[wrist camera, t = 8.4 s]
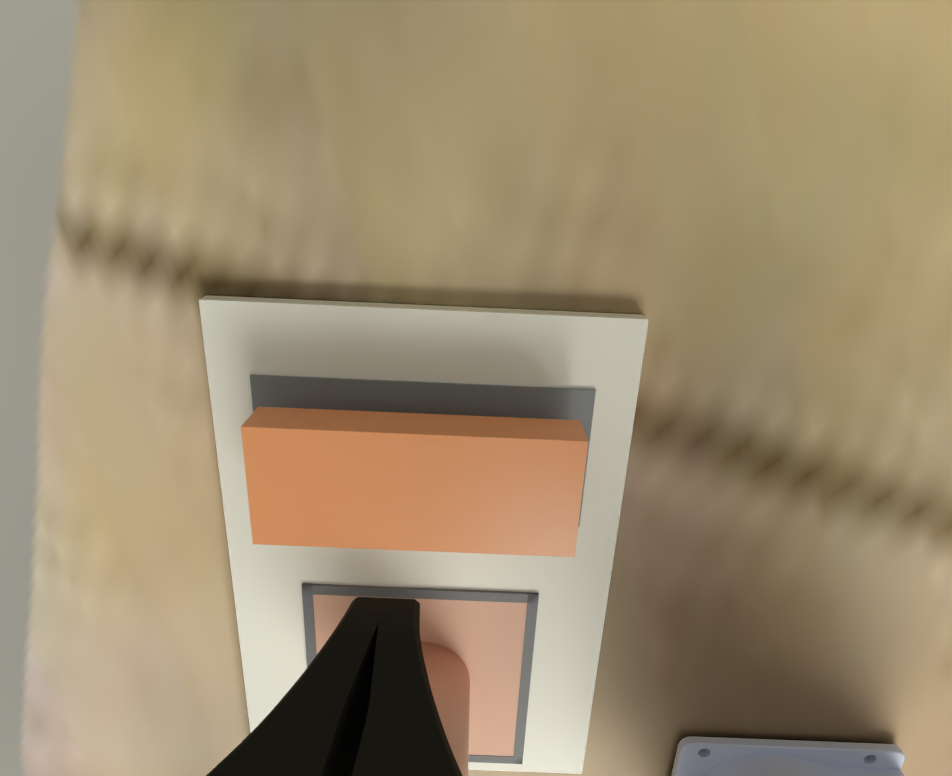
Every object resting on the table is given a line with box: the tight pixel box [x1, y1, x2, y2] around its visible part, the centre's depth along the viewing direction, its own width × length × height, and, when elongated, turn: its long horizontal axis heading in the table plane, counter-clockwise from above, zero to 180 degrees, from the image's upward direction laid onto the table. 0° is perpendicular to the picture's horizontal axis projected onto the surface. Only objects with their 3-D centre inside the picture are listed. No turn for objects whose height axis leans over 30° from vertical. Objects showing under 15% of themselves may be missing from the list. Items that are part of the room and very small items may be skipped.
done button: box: [241, 407, 588, 557], centre depth 19 cm, size 10×4×2 cm, turn 88°
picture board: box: [199, 295, 649, 774], centre depth 23 cm, size 14×20×1 cm
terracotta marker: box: [421, 641, 470, 776], centre depth 21 cm, size 4×4×7 cm
